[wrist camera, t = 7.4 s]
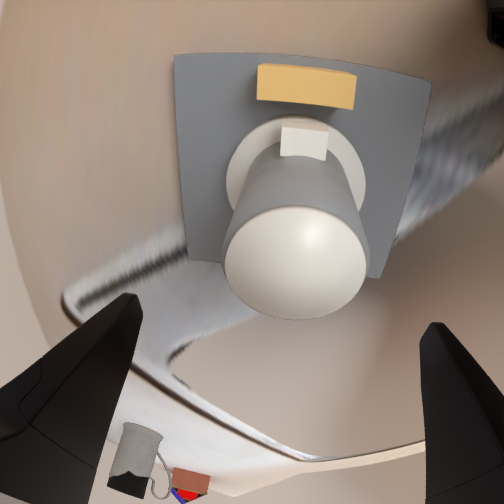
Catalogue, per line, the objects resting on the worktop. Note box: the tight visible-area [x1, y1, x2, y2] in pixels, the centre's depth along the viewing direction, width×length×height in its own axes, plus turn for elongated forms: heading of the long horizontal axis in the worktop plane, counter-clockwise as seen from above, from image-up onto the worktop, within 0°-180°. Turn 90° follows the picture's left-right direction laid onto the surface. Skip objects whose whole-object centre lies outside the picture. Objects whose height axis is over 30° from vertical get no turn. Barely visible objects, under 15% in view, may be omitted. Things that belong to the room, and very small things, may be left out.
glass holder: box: [107, 422, 172, 499], centre depth 48 cm, size 9×14×15 cm, turn 44°
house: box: [171, 467, 210, 504], centre depth 78 cm, size 12×20×12 cm, turn 165°
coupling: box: [221, 119, 370, 320], centre depth 12 cm, size 7×5×6 cm
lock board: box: [174, 53, 432, 278], centre depth 16 cm, size 13×13×4 cm
